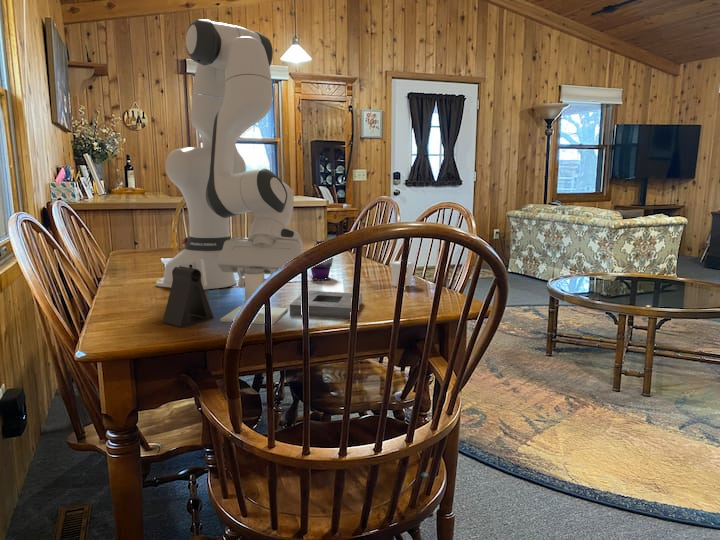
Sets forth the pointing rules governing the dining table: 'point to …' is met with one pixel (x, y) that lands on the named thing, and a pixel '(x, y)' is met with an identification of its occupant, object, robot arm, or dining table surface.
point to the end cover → (253, 280)
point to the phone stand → (187, 299)
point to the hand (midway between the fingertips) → (253, 287)
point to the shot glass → (396, 270)
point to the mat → (260, 318)
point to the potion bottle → (322, 267)
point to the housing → (326, 304)
